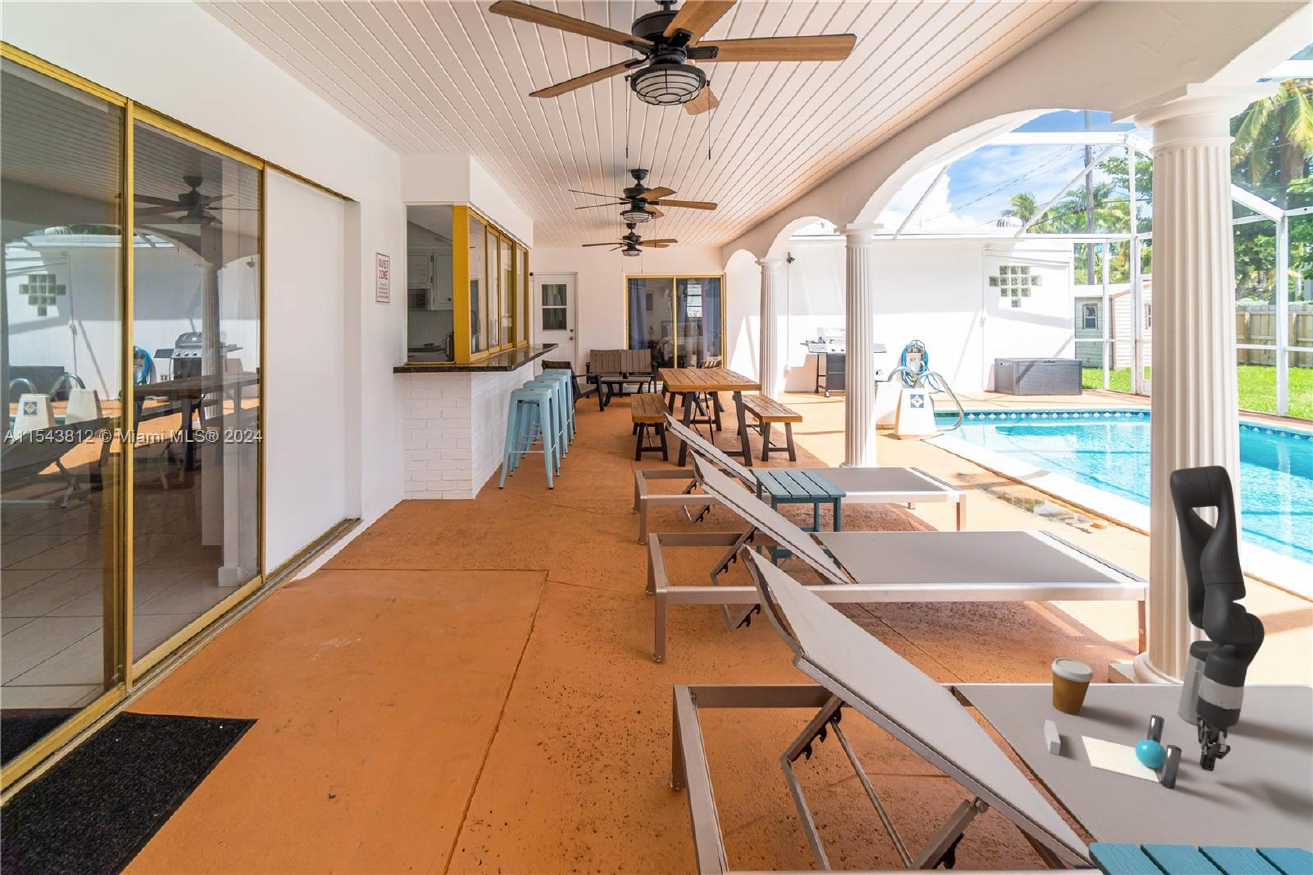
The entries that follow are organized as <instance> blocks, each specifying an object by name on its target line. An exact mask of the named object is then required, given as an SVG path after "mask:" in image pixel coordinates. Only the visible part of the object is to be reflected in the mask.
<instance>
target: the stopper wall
mask: <svg viewBox="0 0 1313 875" xmlns="http://www.w3.org/2000/svg"><path fill="white" fill-rule="evenodd" d="M1043 733H1044V737H1045V741H1046V746H1047V749H1048V753H1049V754H1053V755H1057V756H1060V752H1061V751H1060V749H1061V744H1062V743H1061V739H1060V737H1059V732H1058V729H1057V726H1056V722H1055V721H1054V720H1049V719H1045V721H1044V726H1043Z"/></svg>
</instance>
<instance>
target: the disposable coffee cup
mask: <svg viewBox="0 0 1313 875" xmlns="http://www.w3.org/2000/svg"><path fill="white" fill-rule="evenodd" d="M1051 668H1052V706H1053V708H1055V709H1056V710H1058V711H1060V712H1062V713H1064V714H1069V715H1078V714H1080V713H1079V712H1081V710H1082V707H1083V703H1084V700H1085V697H1086V695H1087V691H1088V689H1089V686H1090V683H1091V681H1092V679H1093V678H1094V674H1093V670H1092V668H1091V667H1090V666H1089V665H1087V664H1086V663H1083V662H1081V661H1078V660H1076V659H1071V658H1067V657H1066V658H1065V657H1058V658H1055V659H1054V661H1053V662H1052V663H1051Z"/></svg>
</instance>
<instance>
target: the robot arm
mask: <svg viewBox="0 0 1313 875" xmlns="http://www.w3.org/2000/svg"><path fill="white" fill-rule="evenodd" d="M1169 488H1170V489H1169V490H1170V495H1171V498H1172V503H1173V505H1174V510H1175V514H1176V518H1177V522H1178V523H1177V524H1178V528H1179V536H1180V537H1179V538H1180V546H1181V547H1180V548H1181V554H1182V555H1181V556H1182V560H1183V565H1184V571H1185V575H1186V584H1187V609H1188V610H1187V613H1188V614H1187V615H1188V618H1189V622H1190V623H1191V625H1192V626H1194V627H1195V628H1196V629H1197V628H1198V629H1200V630H1202V631H1204V634H1205V635H1206V636H1207V637H1208V639H1209V640H1203V639H1202V640H1195V641H1193V642H1191V644H1190V646H1189V647H1190V648H1189V652H1188V658H1187V664H1186V669H1185V673H1184V679H1183V685H1182V690H1181V695H1180V700H1179V703H1178V704H1179V705H1178V709H1177V710H1178V711H1177V714H1178V716H1179V717H1180V718H1182V719H1183V720H1185V721H1187V723H1190V724H1192V725H1195V726H1197V735H1198V737H1197V739H1198V740H1197V741H1198V743H1199V744H1200V750H1201V754H1200V759H1199V765H1200V767H1201V769H1202V770H1204V771H1209V772H1213V771H1214V770H1215V766H1216V760H1217V759H1218V760H1223V759H1224V757H1226V756H1227V755H1228V754H1229V753H1230V752H1231V750H1232V749H1231V745H1229V744H1226V740H1227V739H1228V736H1229V731H1228V728H1230V727H1234V726H1237V725H1238V724H1239V722H1240V716H1241V712H1242V705H1243V702H1244V696H1245V690H1244V689H1245V683H1246V678H1247V674H1248V673H1247V672H1248V667H1249V666H1250V665H1251V663H1252V662H1253V660H1254V658H1255V657H1256V655H1257V654H1258V652H1259V650H1260V648H1261V647H1262V644H1263V643H1264V640H1265V635H1266V634H1265V633H1266V632H1265V627H1264V624H1263V623H1262V621H1261V619H1260V618H1259V617H1258V616H1256V615H1255V614H1254V613H1250V612H1247V608H1246V607H1245V606H1244V605H1243V604H1240V603H1238V602H1235V601H1240V600H1242V599H1245V597H1247V591H1246V584H1245V581H1244V580H1245V579H1244V575H1243V572H1242V566H1241V562H1240V558H1239V550H1238V549H1239V547H1238V530H1237V517H1236V509H1235V499H1234V491H1233V486H1232V480H1231V477H1230V475H1229V472H1228V471H1227V469H1226V467H1224V466H1222V465H1208V466H1197V467H1196V466H1195V467H1186V468H1180V469H1175V470H1172V472H1171V474H1170V475H1169ZM1212 507H1216V508H1217V520H1216V524H1215V527H1213V526H1212V525H1211V524H1209V523H1207V521H1205V520H1204V519H1203V518H1202V517H1200V516H1199V515H1198V513H1197V512H1196V511H1195V508H1197V509H1198V508H1212Z"/></svg>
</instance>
